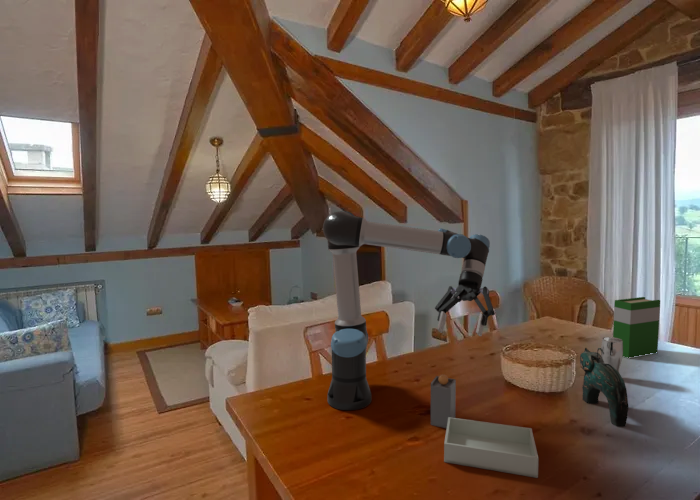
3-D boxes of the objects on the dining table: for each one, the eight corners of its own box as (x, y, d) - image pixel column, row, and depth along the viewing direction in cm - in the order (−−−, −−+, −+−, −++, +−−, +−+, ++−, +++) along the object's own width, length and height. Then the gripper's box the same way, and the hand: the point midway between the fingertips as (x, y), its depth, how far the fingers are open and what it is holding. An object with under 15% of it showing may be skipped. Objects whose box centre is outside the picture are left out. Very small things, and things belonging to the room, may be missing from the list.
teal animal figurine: (576, 397, 138) (578, 340, 137) (595, 397, 138) (598, 340, 136) (612, 428, 119) (615, 362, 117) (634, 428, 118) (638, 361, 117)
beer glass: (625, 382, 150) (627, 342, 148) (604, 380, 151) (606, 341, 150) (616, 374, 156) (618, 337, 155) (597, 373, 158) (598, 336, 156)
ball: (437, 385, 121) (437, 376, 121) (438, 381, 124) (438, 372, 124) (448, 387, 120) (448, 377, 120) (448, 383, 123) (448, 373, 123)
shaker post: (436, 415, 127) (436, 375, 126) (455, 420, 124) (455, 379, 123) (430, 424, 122) (430, 383, 121) (450, 429, 119) (450, 386, 118)
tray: (444, 461, 104) (444, 443, 103) (448, 433, 117) (448, 416, 116) (537, 477, 97) (538, 458, 96) (531, 445, 110) (531, 428, 110)
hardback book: (640, 348, 186) (643, 296, 184) (657, 353, 179) (660, 300, 177) (612, 353, 180) (614, 300, 178) (628, 358, 173) (631, 303, 171)
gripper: (511, 281, 133) (501, 341, 124) (443, 281, 150) (429, 334, 141) (503, 269, 129) (492, 330, 120) (434, 270, 146) (419, 324, 136)
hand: (458, 332), depth 130 cm, fingers open, 13 cm apart
